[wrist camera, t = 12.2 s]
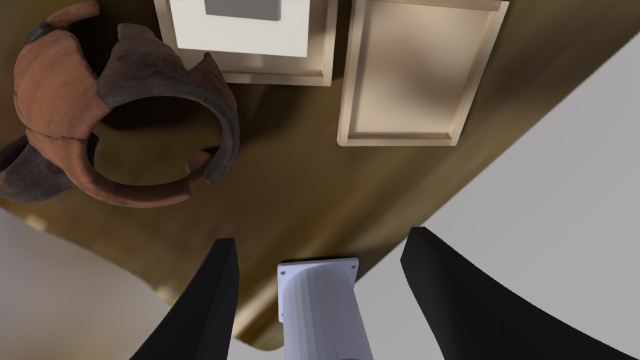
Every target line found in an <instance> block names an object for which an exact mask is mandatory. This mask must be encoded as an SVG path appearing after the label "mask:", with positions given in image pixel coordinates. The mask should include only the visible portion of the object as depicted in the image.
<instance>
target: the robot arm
mask: <svg viewBox="0 0 640 360" xmlns="http://www.w3.org/2000/svg"><path fill="white" fill-rule="evenodd" d="M400 262H401V265H402V268H403V271H404V274H405V276H406V279H407V281H408V284H409V286H410V288H411V290H412V292H413V294H414V296H415V298H416V300H417V302H418V304H419V306H420V308H421V310H422V312H423V314H424V316H425V318H426V320H427V322H428V324H429V326H430V328H431V330H432V332H433V334H434V336H435V338H436V340H437V342H438V345H439V347H440V349H441V352H442V354H443V357H444V359H445V360H638V359H636V358H634V357H631V356H629V355H627V354H625V353H623V352H621V351H619V350H617V349H615V348H613V347H610V346H609V345H607V344H604V343H603V342H601V341H599V340H596V339H594V338H592V337H590V336H589V335H587V334H585V333H583V332H581V331H579V330H577V329H575V328H573V327H571V326H570V325H568V324H566V323H564V322H562V321H561V320H559V319H557V318H555V317H553V316H552V315H550V314H548V313H546V312H545V311H543V310H541V309H539V308H537V307H536V306H534V305H533V304H531V303H530V302H528V301H526V300H525V299H523V298H522V297H520V296H518V295H517V294H515V293H514V292H512V291H511V290H509V289H508V288H506V287H504V286H503V285H502V284H500V283H499V282H497V281H496V280H494V279H493V278H492V277H490V276H489V275H487V274H486V273H485V272H483V271H482V270H481V269H479V268H478V267H476V266H475V265H474V264H472V263H471V262H470V261H468V260H467V259H466V258H464V257H463V256H462V255H461V254H459V253H458V252H457V251H455V250H454V249H453V248H452V247H450V246H449V245H448V244H446V243H445V242H444V241H443V240H442V239H440V238H439V237H438V236H436V235H435V234H434V233H432V232H431V231H430V230H428V229H427V228H426V227H411V230H410V232H409V235H408V238H407V241H406V244H405V247H404V250H403V254H402V256H401V260H400ZM358 265H359V261H358V259H357V258H343V259H330V260H317V261H303V262H290V263H281V264H279V265H278V301H279V321H280V322H283V325H284V352H285V360H374V359H373V356H372V353H371V349H370V346H369V342H368V339H367V335H366V332H365V328H364V325H363V321H362V318H361V315H360V312H359V308H358V304H357V301H356V297H355V294H354V291H353V288H354V284H355V279H356V274H357V270H358ZM282 271H283V272H282ZM239 275H240V273H239V266H238V259H237V252H236V245H235V238H222V239H217V240H216V241H215V242H214V244H213V246H212V247H211V249H210V251H209V253H208V254H207V256H206V258H205V259H204V261H203V263H202V264H201V266H200V268H199V269H198V271H197V272H196V274H195V275H194V277H193V278H192V280H191V281H190V283H189V284H188V286H187V287H186V289H185V290H184V292H183V293H182V295H181V296H180V297H179V299H178V300H177V301H176V303H175V304H174V305H173V307H172V308H171V309H170V311H169V312H168V313H167V315H166V316H165V317H164V319H163V320H162V321H161V323H160V324H159V325H158V326H157V328H156V329H155V330H154V331H153V333H152V334H151V335H150V336H149V337H148V339H147V340H146V341H145V342H144V343H143V344H142V346H141V347H140V348H139V349H138V350H137V352H136V353H135V354H134V355H133V356H132V357H131V358H130V359H129V360H227V355H228V349H229V344H230V339H231V334H232V328H233V323H234V317H235V312H236V306H237V300H238V289H239Z"/></svg>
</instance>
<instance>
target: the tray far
mask: <svg viewBox="0 0 640 360" xmlns="http://www.w3.org/2000/svg"><path fill="white" fill-rule="evenodd" d="M508 5H509V2H507V1H497V0H352V6H351V15H350V24H349V33H348V42H347V51H346V61H345V70H344V79H343V88H342V97H341V106H340V115H339V124H338V134H337V142H338V144H339V146H456V144H457V141H458V139H459V136H460V133H461V131H462V128H463V125H464V123H465V120H466V117H467V115H468V112H469V109H470V107H471V104H472V101H473V99H474V96H475V93H476V91H477V88H478V85H479V83H480V80H481V77H482V75H483V72H484V69H485V67H486V64H487V61H488V59H489V56H490V53H491V51H492V48H493V45H494V43H495V40H496V37H497V35H498V32H499V29H500V26H501V24H502V21H503V18H504V16H505V13H506V10H507V8H508Z"/></svg>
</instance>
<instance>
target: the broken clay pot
mask: <svg viewBox="0 0 640 360" xmlns="http://www.w3.org/2000/svg"><path fill="white" fill-rule="evenodd" d="M100 9H101V6H100V4H99V2H98V1H95V0H89V1H85V2H80V3H75V4H71V5H69V6H68V7H66V8H64V9H62V10H59V11H57V12H55V13H53V14H52V15H51V16H49V18H48V19H47V20H44V21H43V22H41V23H40V24H39V25H38V26H37V27H36V28H35V29H34V30H33V31H32V32H31V33H30V34H29V36H28V38H27V41H26V42H25V43H24V45H23V47H22V49H21V53H20V54H19V56H18V59H17V61H16V64H15V69H14V73H13V74H14V77H15V80H14V88H15V92H14V103H15V107H16V110H17V114H18V117H19V119H20V120H21V121H22V123H24V124H25V125H26V126H27V129H26V133H24V134H22V135H21V136H19V137H18V138H16V139H15V140H13V141H11V142H10V143H8V144H7V145H6V146H4V147H3V148H2V149H1V150H0V198H6V199H8V200H10V201H14V202H18V203H28V202H39V201H43V200H46V199H50V198H52V197H54V196H56V195H58V194H60V193H61V192H63V191H66V190H69V189H72V188H80V189H81V190H83V191H84V192H86V193H87V194H89V195H90V196H92V197H94V198H96V199H99V200H101V201H103V202H108V203H110V204H115V205H119V206H126V207H137V208H149V207H160V206H165V205H171V204H174V203H178V202H182V201H184V200H187V199H189V198H191V191H190V189H189V185H191V184H193V183H195V182H197V181H198V180H200V179H201V178H203V177H204V180H205V182H206V183H213V182H217V181H219V180H221V179H222V178H223V177H224V176H225V175H226V174H227V172H228V171H229V170H230V168H231V166H232V165H233V163H234V162H235V160H236V158H237V155H238V152H239V148H240V137H239V136H240V125H239V123H238V121H239V115H238V113H237V102H236V100H235V97H234V95H233V93H232V92H231V90H230V88H229V87H228V85H227V83H226V81H225V79H224V77H223V76H222V73H221V72H220V70H219V67H218V65H217V63H216V62H215V60H214V58H213V57H212V55H211V54H210V53H209V52H206V53H205V54H204V58H203V60H202V61H200V62H199V63H198V64H197V65H196V66H195V67H193V68H192V69H191V70H189V71H187V70H186V69H185V67H184V65H183V63H182V61H181V58H180V57H179V56H178V55H177V54H176V53H175V51H174V50H173V49H172V48H171V47H170V46H168V45H167V44H165V43H164V42H162V41H160V40H159V39H158V38H157V37H156V36H155V35H154V33H153V32H152V31H151V30H150V29H149V28H147V27H145V26H141V25H136V24H130V23H121V24H119V25H118V27H117V28H118V38H119V41H118V42H117V43H116V44H115V46H114V48H113V49H112V52H111V56H110V60H109V61H108V63H107V65H106V67H105V69H104V71H103V72H102V74H101V76H100V77H98V76H97V75H96V74H95V73H94V72H93V70H92V69H91V67H90V66H89V65H88V63H87V61H86V59H85V58H84V55H83V52H82V48H81V45H80V43H79V41H78V39H77V38H76V36H75V35H74V34H71V33H70V32H68V31H66V30H64V29H65V28H66V27H67V26H69V25H70V24H72V23H74V22H77V21H80V20H83V19H87V18H90V17H94V16H97V15H99V13H100V12H99V11H100ZM150 96H176V97H181V98H187V99H190V100H195V101H198V102H199V103H201V104H203V105H204V106H206V107H207V108H209V109H210V110H211V111H212V112H213V113H215V114H216V116H217V117H218V119H219V121H220V123H221V125H222V130H223V136H222V143H221V146H220V148H219V149H218V150H217V151H216V152H215V153H214V154H211V153H209V152H206V151H204V150H202V151H200V152H198V153H197V154H196V155H195V156H193V157H192V158H191V159H190V160H189V161H188V163H187V164H186V166H185V168H186V171H187V172H188V173H189V174H188V176H187V177H185V178H182V179H180V180H177V181H174V182H170V183H165V184H160V185H153V186H132V185H125V184H120V183H117V182H114V181H111V180H109V179H107V178H106V177H104V176H102V175H101V174H100V173H98V172H97V171H96V170H95V169H94V155H95V148H96V146H97V143H98V141H99V137H98V136H97V135H95V134H94V133H93V132H92V130H93V129H94V127H95V126H96V125H97V123H98V122H99V121H100V120H101V119H102V118H103V117H105V116H106V115H107V114H108V113H110V112H111V111H112V110H113V109H114V108H115V107H116V106H118V105H122V104H125V103H127V102H130V101H133V100H136V99H139V98H144V97H150Z"/></svg>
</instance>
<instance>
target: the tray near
mask: <svg viewBox="0 0 640 360" xmlns="http://www.w3.org/2000/svg"><path fill="white" fill-rule="evenodd" d="M154 3H155V8H156V12H157V17H158V21H159V26H160V30H161V35H162V39H163V42H164V43H165V44H167V45H168V46H170V47H171V48H172V49H173V50H174V51H175V53H176V54H177V55H178V56H179V57H180V58H181V61H182V63H183V65H184V67H185V69H186V70H187V71H189V70H191V69H192V68H193V67H195V66H196V65H197V64H198V63H199V62H200V61H202V60H203V58H204V54H205V53H206V52H209V53H210V54H211V55H212V57H213V58H214V60H215V62H216V63H217V65H218V67H219V70H220V72H221V73H222V76H223V77H224V79H225V81H226V83H253V84H281V85H310V86H331V78H332V67H333V55H334V43H335V32H336V20H337V9H338V0H310V5H309V24H308V43H307V57H296V56H282V55H268V54H254V53H240V52H226V51H213V50H199V49H185V48H178V45H177V39H176V34H175V28H174V23H173V17H172V12H171V6H170V0H154Z"/></svg>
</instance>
